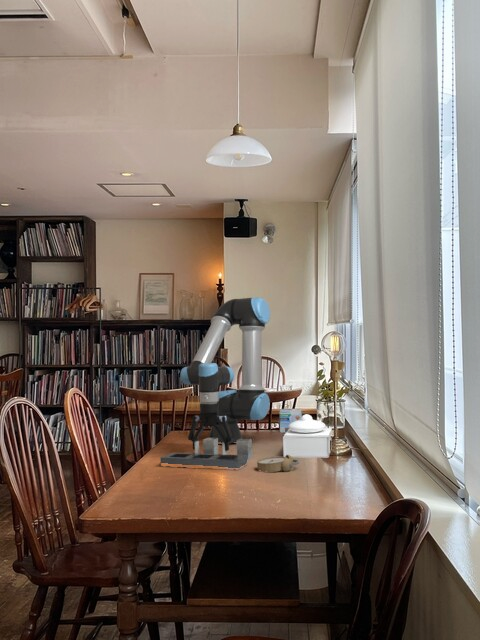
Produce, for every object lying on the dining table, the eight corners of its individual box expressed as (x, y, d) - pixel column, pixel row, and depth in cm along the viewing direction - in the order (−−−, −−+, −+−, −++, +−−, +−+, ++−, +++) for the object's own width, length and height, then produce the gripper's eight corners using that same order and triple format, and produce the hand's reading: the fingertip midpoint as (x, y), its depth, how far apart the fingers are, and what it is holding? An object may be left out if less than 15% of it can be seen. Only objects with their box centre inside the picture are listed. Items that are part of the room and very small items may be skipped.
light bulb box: (279, 432, 301) (278, 410, 301) (281, 430, 308) (280, 408, 308) (301, 432, 299) (301, 410, 300) (302, 430, 306) (302, 408, 306)
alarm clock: (258, 458, 230) (298, 450, 227) (261, 471, 230) (301, 464, 227) (253, 464, 219) (295, 457, 216) (256, 478, 219) (298, 471, 216)
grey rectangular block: (208, 457, 247) (207, 437, 248) (218, 458, 246) (217, 437, 246) (203, 460, 243) (202, 439, 243) (214, 460, 242) (213, 439, 242)
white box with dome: (289, 449, 260) (287, 411, 261) (332, 449, 257) (331, 410, 257) (283, 457, 243) (282, 417, 243) (329, 458, 239) (328, 416, 240)
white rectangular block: (241, 459, 243) (240, 438, 243) (252, 459, 241) (251, 438, 241) (237, 461, 238) (236, 440, 239) (248, 462, 237) (247, 440, 237)
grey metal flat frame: (172, 461, 242) (171, 452, 242) (247, 464, 232) (246, 455, 232) (160, 466, 233) (160, 457, 233) (238, 470, 223) (237, 460, 223)
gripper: (178, 403, 245) (179, 459, 245) (233, 404, 237) (235, 461, 237) (186, 401, 252) (187, 455, 252) (240, 401, 244) (242, 457, 244)
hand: (211, 458), depth 244 cm, fingers open, 11 cm apart
